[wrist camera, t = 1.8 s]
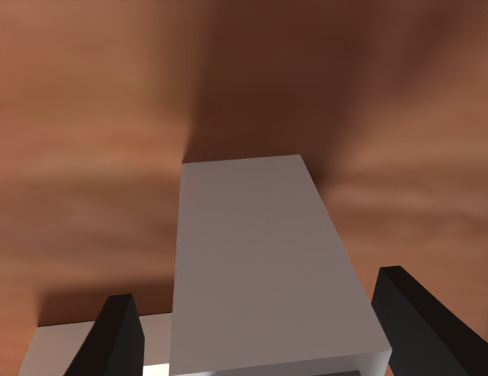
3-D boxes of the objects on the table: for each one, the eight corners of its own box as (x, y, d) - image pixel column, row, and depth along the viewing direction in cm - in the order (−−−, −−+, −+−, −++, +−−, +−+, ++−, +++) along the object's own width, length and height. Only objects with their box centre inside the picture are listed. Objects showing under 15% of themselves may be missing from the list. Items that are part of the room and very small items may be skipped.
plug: (300, 154, 14) (417, 401, 7) (294, 241, 17) (375, 493, 9) (181, 163, 14) (164, 434, 6) (194, 251, 16) (193, 520, 9)
